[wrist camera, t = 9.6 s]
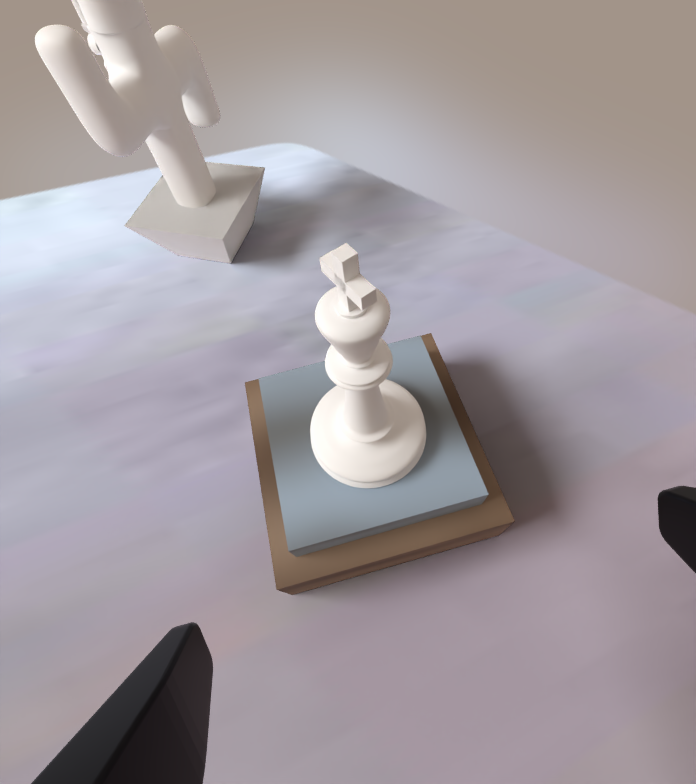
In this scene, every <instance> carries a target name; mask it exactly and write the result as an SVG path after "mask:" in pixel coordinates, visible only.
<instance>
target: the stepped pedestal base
mask: <svg viewBox="0 0 696 784" xmlns="http://www.w3.org/2000/svg"><path fill="white" fill-rule="evenodd" d="M387 345H388V347H389V349H390V351H391V353H392V357H393V365H392V369H391V372H390V374H389V375H388V377H387V378H386V379H387V380H390V381H393V382H395V383H397V384H399V385H400V386H402V387H403V388H405V389H406V390H407V391H408V392H409V393H410V394H411V395H412V396H413V397H414V398H415V399H416V401H417V402H418V404H419V406H420V408H421V410H422V413H423V416H424V420H425V425H426V443H425V447H424V450H423V453H422V455H421V457H420V459H419V461H418V462H417V464H416V465H415V467H414V468H413V469H412V470H411V471H410V472H409V473H408V474H407V475H405V476H404V477H403V478H401V479H400V480H398V481H396V482H394V483H392V484H389V485H386V486H383V487H378V488H357V487H352V486H349V485H346V484H343V483H341V482H339V481H337V480H336V479H334V478H333V477H331V476H330V475H329V474H328V473H327V472H326V471H325V470H324V469H323V468H322V467H321V466H320V464H319V463H318V461H317V459H316V457H315V455H314V452H313V449H312V445H311V436H310V426H311V420H312V416H313V413H314V411H315V408H316V406H317V405H318V403H319V402H320V400H321V399H322V398H323V397H324V395H325V394H326V393H327V392H329V391H330V390H331V389H332V388H334V387H335V386H337V385H336V384H335V383H334V382H333V381H332V380H331V379H330V378H329V376H328V374H327V372H326V369H325V361H323V362H319V363H315V364H312V365H308V366H304V367H300V368H297V369H293V370H289V371H285V372H282V373H278V374H274V375H270V376H267V377H263V378H259V379H257V380H253V381H249V382H245V387H246V393H247V400H248V406H249V413H250V419H251V426H252V432H253V439H254V445H255V452H256V458H257V465H258V471H259V478H260V485H261V491H262V498H263V504H264V511H265V517H266V524H267V530H268V537H269V543H270V550H271V556H272V563H273V569H274V576H275V582H276V589H277V590H279V591H282V592H285V593H288V594H291V595H293V594H297V593H300V592H304V591H307V590H311V589H314V588H318V587H321V586H325V585H328V584H332V583H335V582H339V581H342V580H346V579H349V578H352V577H356V576H359V575H363V574H366V573H370V572H373V571H377V570H380V569H384V568H387V567H391V566H394V565H398V564H401V563H405V562H408V561H411V560H415V559H418V558H422V557H425V556H429V555H432V554H436V553H439V552H443V551H446V550H450V549H453V548H457V547H460V546H463V545H467V544H470V543H474V542H477V541H481V540H484V539H488V538H491V537H495V536H498V535H500V534H501V533H502V532H503V531H504V530H506V529H507V528H508V527H509V526H510V525H511V524H512V523H513V522H515V520H514V518H513V516H512V514H511V512H510V509H509V507H508V505H507V503H506V500H505V498H504V496H503V494H502V491H501V489H500V487H499V485H498V482H497V480H496V478H495V476H494V473H493V471H492V469H491V467H490V464H489V462H488V460H487V458H486V455H485V453H484V451H483V449H482V446H481V444H480V442H479V440H478V438H477V435H476V433H475V431H474V429H473V426H472V424H471V422H470V420H469V417H468V415H467V413H466V411H465V408H464V406H463V404H462V402H461V399H460V397H459V395H458V393H457V390H456V388H455V386H454V384H453V381H452V379H451V377H450V375H449V373H448V370H447V368H446V366H445V364H444V361H443V359H442V357H441V355H440V352H439V350H438V348H437V346H436V343H435V341H434V339H433V337H432V334H431V333H430V334H426V335H422V336H417V337H413V338H409V339H406V340H402V341H398V342H394V343H391V344H387Z"/></svg>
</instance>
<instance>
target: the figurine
mask: <svg viewBox="0 0 696 784" xmlns="http://www.w3.org/2000/svg"><path fill="white" fill-rule="evenodd" d="M71 1H72V2H73V5H74V7H75V9H76V11H77V13H78V15H79V17H80V19H81V21H82V23H83V24H81V26H82V27H83V29H84V30H85V31H86V32H88V33H89V34H88V44H89V45H88V44H87V42H86V41H85V39H84V38H83V37H82V36H81V35H80V34H79V33H78V32H77V31H76V30H74V29H72V28H71V27H68V26H64V25H49V26H46V27H44V28H42V29H40V30H39V31H38V32H37V34H36V36H35V44H36V47H37V50H38V52H39V54H40V56H41V58H42V60H43V61H44V63H45V65H46V66H47V68H48V70H49V71H50V73H51V74H52V76H53V78H54V79H55V81H56V82H57V84H58V86H59V87H60V89H61V90H62V92H63V94H64V95H65V97H66V98H67V100H68V102H69V103H70V105H71V107H72V108H73V110H74V112H75V113H76V115H77V116H78V118H79V120H80V121H81V123H82V124H83V125H84V127H85V129H86V130H87V132H88V133H89V134H90V136H91V137H92V138H93V139H94V140H95V142H96V143H97V144H98V145H99V146H100V147H101V148H102V149H104V150H105V151H106V152H108V153H110V154H112V155H115V156H119V157H125V156H128V155H131V154H133V153H134V152H135V151H136V150H137V149H138V148H139V147H140V146H141V145H142V143H143V142H144V141H146V143H147V145H148V147H149V149H150V151H151V153H152V155H153V156H154V159H155V160H156V163H157V165H158V166H159V168H160V170H161V172H162V174H163V175H162V177H161V178H160V179H159V181H158V182H157V183H156V185H155V186H154V187H153V189H152V190H151V191H150V193H149V194H148V195H147V197H146V198H145V199H144V201H143V202H142V203H141V205H140V206H139V207H138V209H137V210H136V211H135V212H134V214H133V215H132V216H131V218H130V219H129V220H128V222H127V223H126V224H125V227H127V228H129V229H131V230H133V231H134V232H136V233H138V234H140V235H142V236H143V237H145V238H147V239H149V240H151V241H153V242H154V243H156V244H158V245H160V246H162V247H163V248H165V249H167V250H169V251H171V252H172V253H174V254H176V255H178V256H183V257H190V258H197V259H203V260H210V261H217V262H223V263H230V264H231V262H232V260H233V259H234V257H235V255H236V253H237V251H238V250H239V248H240V246H241V244H242V242H243V241H244V239H245V237H246V235H247V234H248V232H249V230H250V228H251V226H252V225H253V223H254V218H255V213H256V208H257V203H258V199H259V194H260V189H261V184H262V180H263V175H264V170H265V168H264V167H253V166H243V165H232V164H222V163H211V162H205V160H204V157H203V155H202V153H201V150H200V148H199V145H198V143H197V140H196V138H195V135H194V133H193V130H192V128H191V125H190V123H189V121H190V122H191V123H192V124H194V125H195V126H198V127H204V128H206V127H212V126H214V125H216V124H217V123H218V122H219V120H220V111H219V108H218V105H217V102H216V99H215V96H214V93H213V90H212V87H211V84H210V81H209V78H208V75H207V72H206V69H205V66H204V63H203V61H202V58H201V56H200V53H199V51H198V49H197V47H196V45H195V43H194V41H193V40H192V38H191V37H190V36H189V34H188V33H187V32H186V31H185V30H183V29H182V28H180V27H178V26H175V25H168V26H165V27H163V28H161V29H160V30H159V31H158V32H157V33H155V35H154V34H153V32H152V29H151V26H150V23H149V21H148V18H147V15H146V11H145V9H144V5H143V2H142V0H71ZM91 50H92V51H93V52H94V53H95V54H96V55H102V57H103V59H104V66H105V67H106V69H107V70H108V74H109V80H107V78H106V76H105V75H104V73H103V71H102V69H101V67H100V66H99V64H98V62H97V60H96V58H95V56H94V54H93V52H92V51H91Z"/></svg>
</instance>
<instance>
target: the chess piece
mask: <svg viewBox="0 0 696 784" xmlns="http://www.w3.org/2000/svg"><path fill="white" fill-rule="evenodd" d="M319 259H320V264H321V269H322V272H323V273H324V274H325V275H326V276H327V277H328V278H329V279H330V280H331V281H332V282H333V283H334V284H335V285H336V287H334V288H332V289H331V290H329V291H328V292H327V293H325V294H324V295H323V296H322V298H321V299H320V300H319V302H318V304H317V306H316V310H315V321H316V324H317V327H318V329H319V331H320V332H321V334H322V335H323V336H324V337H325V338H326V340H327V341H328V342H329V343H331V346H330V347H329V349H328V352H327V355H326V359H325V369H326V372H327V374H328V376H329V378H330V379H331V380H332V381H333V382H334V383H335V384H336V385H337V386H335V387H334V388H332V389H331V390H330V391H329V392H327V393H326V394H325V395H324V397H323V398H322V399H321V400H320V402H319V403H318V405H317V406H316V408H315V411H314V413H313V416H312V420H311V426H310V436H311V445H312V449H313V452H314V455H315V457H316V459H317V461H318V463H319V464H320V466H321V467H322V468H323V469H324V470H325V471H326V472H327V473H328V474H329V475H330V476H331V477H333V478H334V479H336V480H337V481H339V482H341V483H343V484H346V485H349V486H352V487H357V488H378V487H383V486H386V485H389V484H392V483H394V482H396V481H398V480H400V479H401V478H403V477H404V476H405V475H407V474H408V473H409V472H410V471H411V470H412V469H413V468H414V467H415V465H416V464H417V462H418V461H419V459H420V457H421V455H422V453H423V450H424V447H425V443H426V425H425V420H424V416H423V413H422V410H421V408H420V406H419V404H418V402H417V401H416V399H415V398H414V397H413V396H412V395H411V394H410V393H409V392H408V391H407V390H406V389H405V388H403V387H402V386H400V385H399V384H397V383H395V382H393V381H390V380H387V379H386V378H387V377H388V375H389V374H390V372H391V369H392V365H393V357H392V353H391V351H390V349H389V347H388V345H387V344H386V342H385V341H384V340H383V339H382V338H381V336H382V335H383V333H384V331H385V329H386V327H387V325H388V322H389V319H390V306H389V303H388V300H387V298H386V297H385V296H384V294H383V293H382V292H381V291H379V290H378V289H377V288H375V287H374V286H373V285H372V284H371V283H370V282H368V281H367V280H366V279H365V278H364V277H363V276H362V275H361V274H360V272H359V261H358V253H357V252H356V251H355V250H354V249H353V248H352V247H350V246H349V245H348V244H347V243H345V244H343V245H342V246H340V247H338V248H337V249H335V250H332V251H331V252H329V253H327V254H326V255H324V256H322V257H321V258H319Z"/></svg>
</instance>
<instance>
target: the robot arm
mask: <svg viewBox="0 0 696 784" xmlns="http://www.w3.org/2000/svg"><path fill="white" fill-rule="evenodd" d="M658 515H659V529H660V532H661V535H662V537H663V538H664V540H665V541H666V542H667V543H668V544H669V545H670V547H671V548H672V549H673V550H674V551H675V552H676V553H677V554H678V555H679V556H680V557H681V558H682V559H683V560H684V561H685V563H686V564H687V565H688V566H689V567H690V568H691V569H692V570H693V571H694V572H695V573H696V488H693V487H687V486H677V487H674V488H670V489H667V490H663V491H662V492H660V493H659V495H658ZM212 676H213V662H212V657H211V654H210V651H209V649H208V647H207V644H206V642H205V640H204V637H203V635H202V632H201V630H200V628H199V626H198V625H197V624H196V623H193V622H191V623H188V624H184V625H180V626H177V627H174V628H172V629H171V630H170V631H169V632H168V633H167V634H166V636H165V637H164V638H163V639H162V640H161V641H160V642H159V643H158V644H157V645H156V647H155V648H154V649H153V650H152V651H151V652H150V653H149V654H148V655H147V656H146V658H145V659H144V660H143V661H142V662H141V663H140V664H139V665H138V666H137V667H136V669H135V670H134V671H133V672H132V673H131V674H130V675H129V676H128V677H127V679H126V680H125V681H124V682H123V683H122V684H121V685H120V686H119V687H118V688H117V690H116V691H115V692H114V693H113V694H112V695H111V696H110V697H109V698H108V699H107V701H106V702H105V703H104V704H103V705H102V706H101V707H100V708H99V709H98V710H97V712H96V713H95V714H94V715H93V716H92V717H91V718H90V719H89V720H88V722H87V723H86V724H85V725H84V726H83V727H82V728H81V729H80V730H79V731H78V733H77V734H76V735H75V736H74V737H73V738H72V739H71V740H70V741H69V742H68V744H67V745H66V746H65V747H64V748H63V749H62V750H61V751H60V752H59V753H58V755H57V756H56V757H55V758H54V759H53V760H52V761H51V762H50V763H49V765H48V766H47V767H46V768H45V769H44V770H43V771H42V772H41V773H40V774H39V776H38V777H37V778H36V779H35V780H34V781H33V782H32V783H31V784H203V777H204V770H205V762H206V752H207V740H208V728H209V715H210V702H211V689H212Z"/></svg>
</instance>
